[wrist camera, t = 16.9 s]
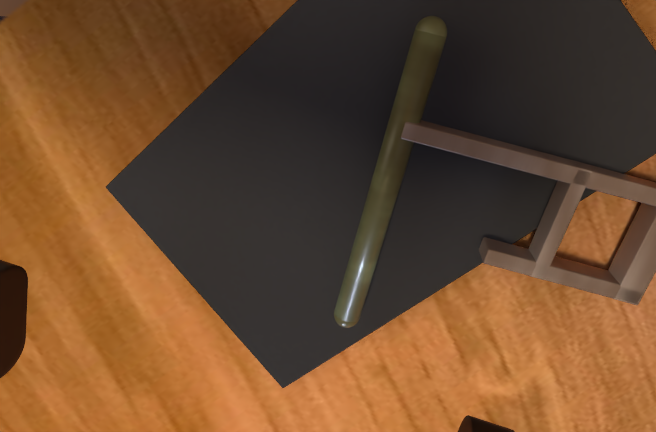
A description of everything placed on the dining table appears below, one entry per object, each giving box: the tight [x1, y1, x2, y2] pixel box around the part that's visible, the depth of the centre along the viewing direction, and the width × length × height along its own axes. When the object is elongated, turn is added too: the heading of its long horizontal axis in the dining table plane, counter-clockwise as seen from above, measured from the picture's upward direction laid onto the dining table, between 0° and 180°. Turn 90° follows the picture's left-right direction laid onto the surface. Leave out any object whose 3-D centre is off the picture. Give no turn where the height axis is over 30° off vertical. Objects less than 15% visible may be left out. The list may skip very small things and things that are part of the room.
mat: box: [106, 0, 656, 388], centre depth 27 cm, size 26×16×1 cm, turn 130°
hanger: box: [334, 16, 656, 328], centre depth 25 cm, size 16×2×14 cm
